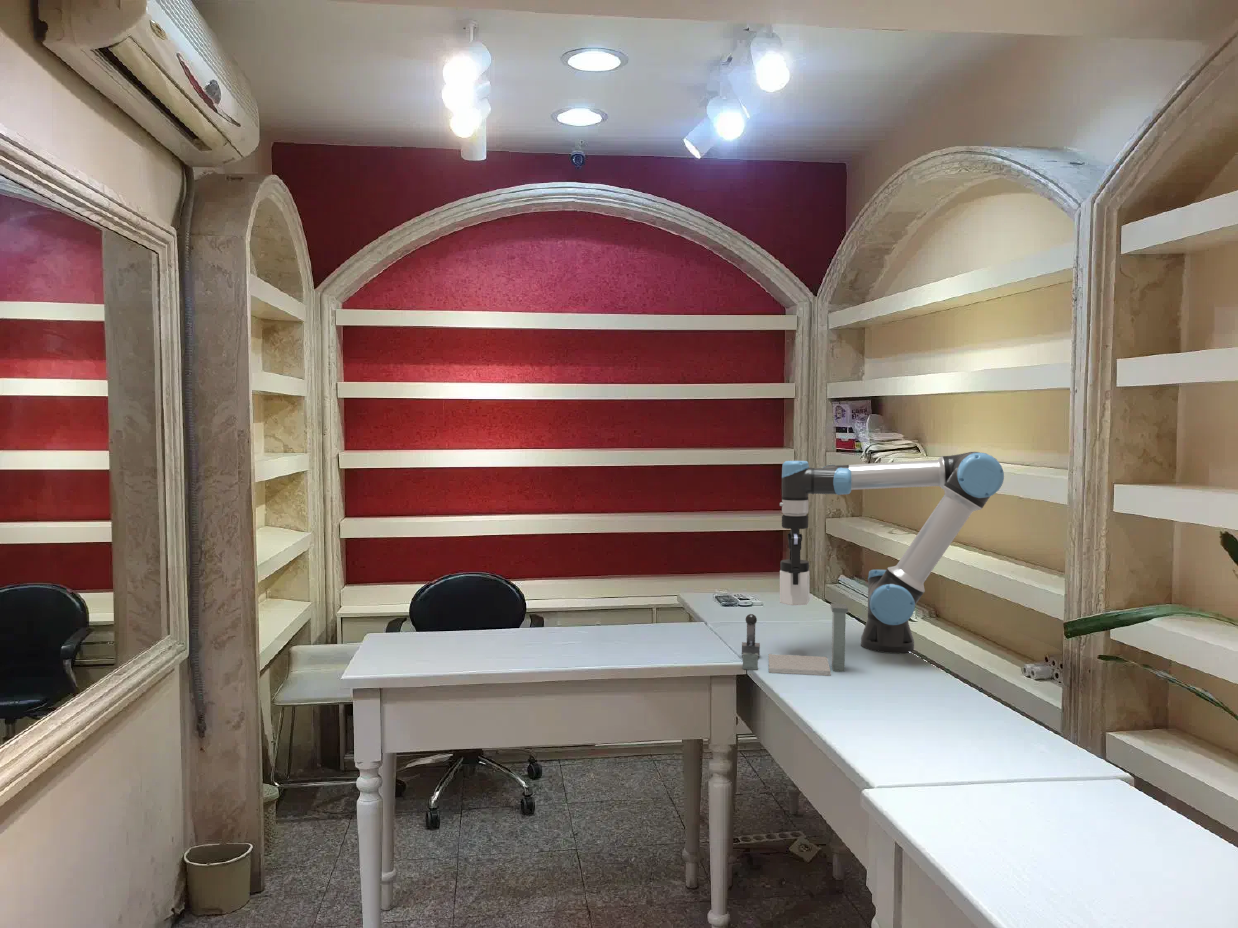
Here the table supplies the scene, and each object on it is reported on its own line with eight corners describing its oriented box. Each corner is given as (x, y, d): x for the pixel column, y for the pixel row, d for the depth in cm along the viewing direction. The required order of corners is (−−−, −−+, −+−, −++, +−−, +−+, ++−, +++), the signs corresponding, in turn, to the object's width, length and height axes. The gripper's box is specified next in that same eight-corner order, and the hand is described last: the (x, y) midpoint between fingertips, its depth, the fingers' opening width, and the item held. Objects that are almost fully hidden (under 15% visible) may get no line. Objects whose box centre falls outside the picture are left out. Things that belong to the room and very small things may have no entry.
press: (842, 658, 247) (843, 598, 246) (848, 676, 230) (849, 611, 230) (743, 654, 252) (744, 594, 251) (742, 671, 235) (743, 607, 234)
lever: (759, 651, 251) (760, 612, 250) (759, 654, 247) (760, 616, 246) (742, 650, 252) (742, 612, 251) (741, 654, 248) (742, 615, 247)
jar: (816, 602, 252) (816, 561, 252) (797, 606, 247) (798, 564, 247) (791, 598, 259) (791, 557, 259) (773, 601, 254) (773, 560, 254)
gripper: (780, 510, 263) (780, 585, 264) (782, 518, 242) (782, 599, 244) (806, 510, 262) (806, 585, 263) (810, 518, 241) (810, 600, 242)
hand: (794, 592), depth 253 cm, fingers closed on jar, 8 cm apart
